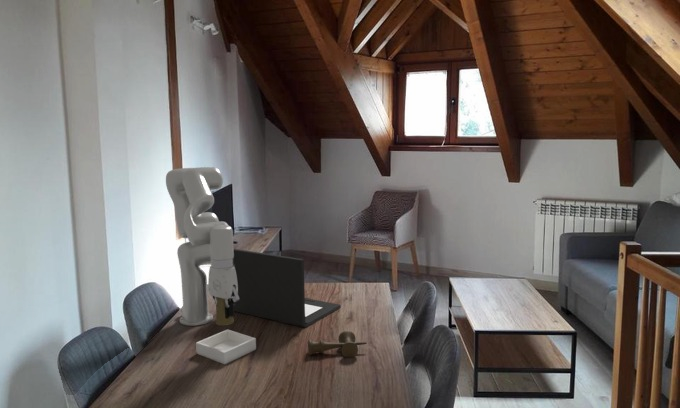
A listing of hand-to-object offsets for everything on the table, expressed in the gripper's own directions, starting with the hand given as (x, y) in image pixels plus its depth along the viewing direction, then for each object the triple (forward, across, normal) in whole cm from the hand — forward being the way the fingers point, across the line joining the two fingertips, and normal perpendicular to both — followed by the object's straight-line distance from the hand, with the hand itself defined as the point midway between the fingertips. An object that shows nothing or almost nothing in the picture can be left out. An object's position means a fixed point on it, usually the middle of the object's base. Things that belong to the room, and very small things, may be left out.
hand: (225, 315), depth 178 cm
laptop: (+13, -11, +42) cm, 46 cm away
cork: (+3, 0, 0) cm, 3 cm away
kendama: (+13, +31, +21) cm, 40 cm away
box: (+13, 0, 0) cm, 13 cm away
